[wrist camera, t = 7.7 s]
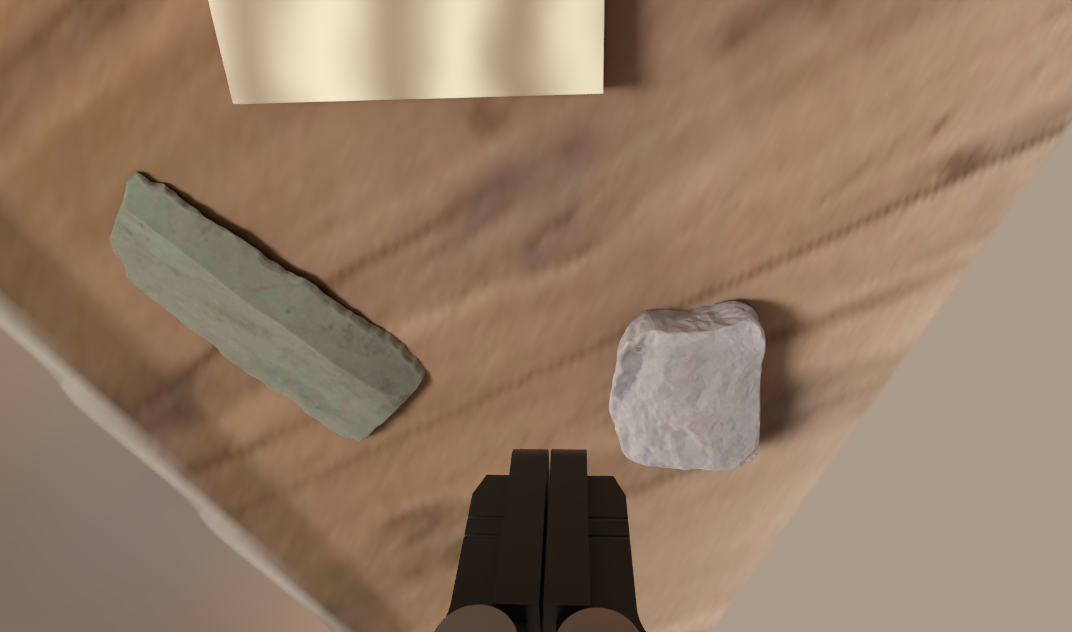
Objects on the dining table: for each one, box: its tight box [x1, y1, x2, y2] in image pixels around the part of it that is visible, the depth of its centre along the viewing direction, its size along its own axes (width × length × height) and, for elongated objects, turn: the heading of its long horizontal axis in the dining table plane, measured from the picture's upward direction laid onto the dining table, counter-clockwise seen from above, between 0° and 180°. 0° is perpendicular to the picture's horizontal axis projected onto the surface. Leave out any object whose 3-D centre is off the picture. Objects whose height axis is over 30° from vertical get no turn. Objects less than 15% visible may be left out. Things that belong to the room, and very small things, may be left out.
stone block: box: [609, 301, 766, 471], centre depth 42 cm, size 12×5×10 cm
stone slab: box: [109, 172, 426, 441], centre depth 43 cm, size 22×3×10 cm
